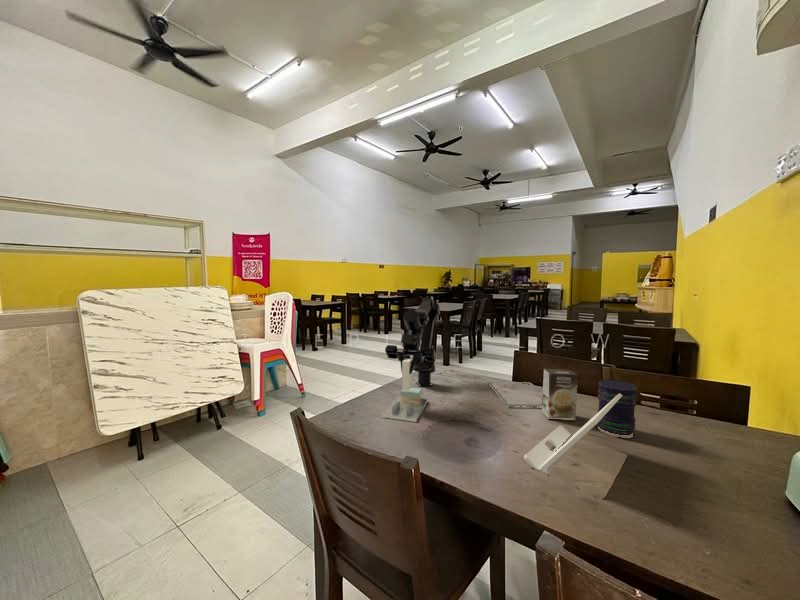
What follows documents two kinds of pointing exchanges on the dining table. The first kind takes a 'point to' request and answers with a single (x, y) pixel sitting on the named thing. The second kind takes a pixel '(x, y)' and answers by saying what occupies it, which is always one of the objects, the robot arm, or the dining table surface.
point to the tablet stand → (561, 442)
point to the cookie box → (559, 393)
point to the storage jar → (617, 406)
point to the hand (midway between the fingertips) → (406, 373)
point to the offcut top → (412, 393)
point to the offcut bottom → (411, 399)
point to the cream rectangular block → (406, 375)
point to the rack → (405, 410)
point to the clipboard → (515, 404)
